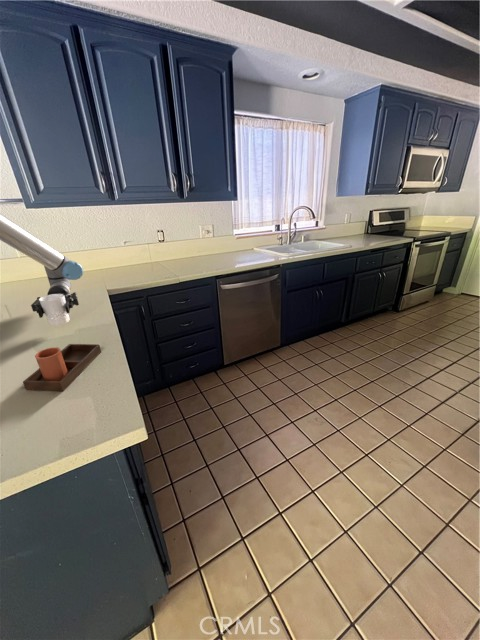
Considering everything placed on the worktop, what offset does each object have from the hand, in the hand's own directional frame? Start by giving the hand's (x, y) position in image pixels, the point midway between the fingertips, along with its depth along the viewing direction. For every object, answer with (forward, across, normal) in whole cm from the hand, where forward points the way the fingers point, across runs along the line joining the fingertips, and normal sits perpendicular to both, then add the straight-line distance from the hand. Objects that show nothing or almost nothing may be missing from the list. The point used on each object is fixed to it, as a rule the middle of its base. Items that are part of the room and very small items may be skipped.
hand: (53, 311), depth 95 cm
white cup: (-5, 0, -6) cm, 8 cm away
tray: (+24, -3, -11) cm, 26 cm away
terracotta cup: (+28, -1, -11) cm, 30 cm away
